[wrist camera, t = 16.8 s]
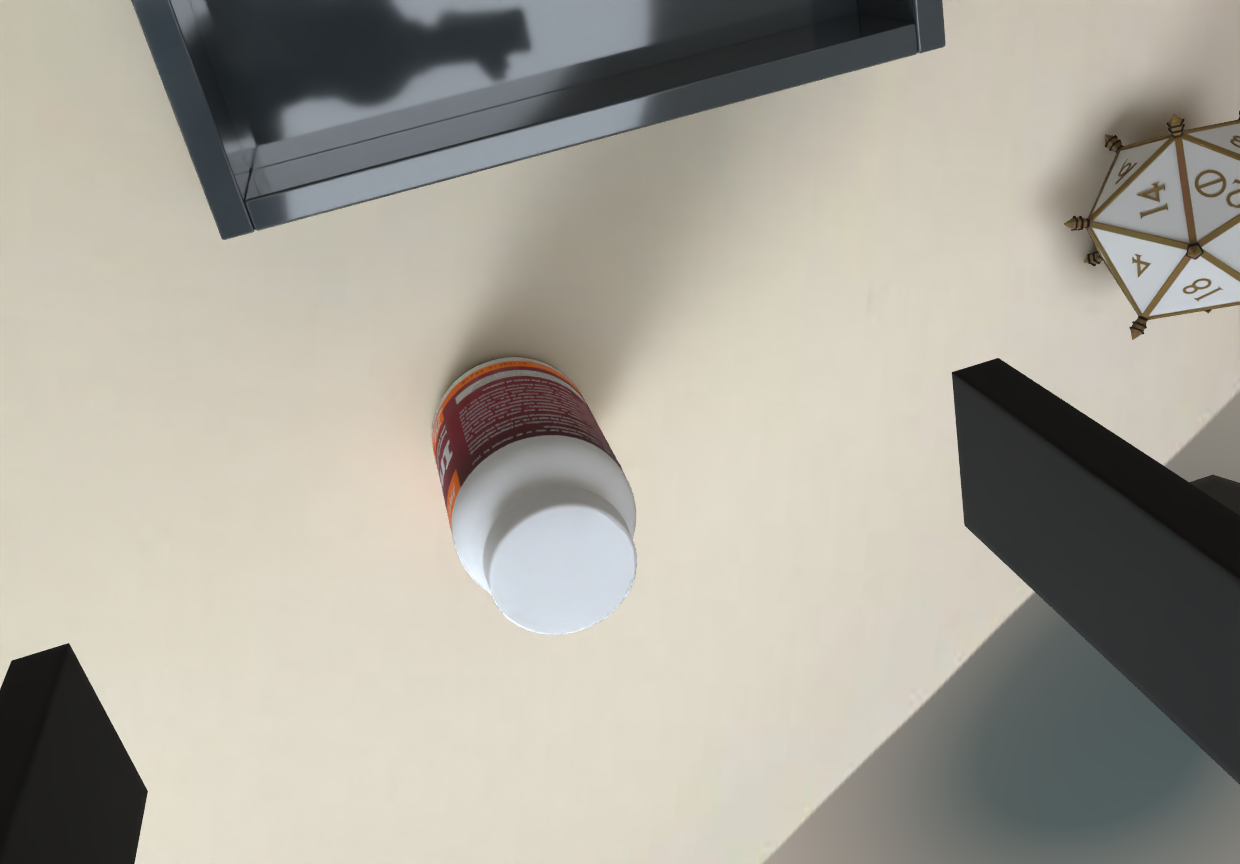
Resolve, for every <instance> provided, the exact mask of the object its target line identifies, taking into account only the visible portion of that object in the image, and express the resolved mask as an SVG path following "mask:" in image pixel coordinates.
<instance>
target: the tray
mask: <svg viewBox="0 0 1240 864" xmlns="http://www.w3.org/2000/svg"><path fill="white" fill-rule="evenodd" d="M131 1H132V4H133V6H134V9H135V12H136V14H137V17H138V19H139V22H140V25H141V27H142V30H143V33H144V35H145V38H146V41H147V43H148V46H149V48H150V51H151V54H152V56H153V59H154V62H155V64H156V67H157V69H158V72H159V75H160V77H161V80H162V83H163V85H164V88H165V91H166V93H167V96H168V98H169V101H170V104H171V106H172V109H173V112H174V114H175V117H176V120H177V122H178V125H179V127H180V130H181V133H182V135H183V138H184V141H185V143H186V146H187V148H188V151H189V154H190V156H191V159H192V162H193V164H194V167H195V170H196V172H197V175H198V177H199V180H200V183H201V185H202V188H203V191H204V193H205V196H206V198H207V201H208V204H209V206H210V209H211V212H212V214H213V217H214V220H215V222H216V225H217V227H218V230H219V233H220V235H221V238H222V239H223V240H226V239H230V238H234V237H237V236H241V235H245V234H249V233H252V232H254V230H256V231H259V230H263V229H266V228H270V227H274V226H278V225H281V224H285V223H289V222H292V221H296V220H300V219H304V218H307V217H311V216H315V215H319V214H322V213H326V212H330V211H334V210H337V209H341V208H345V207H348V206H352V205H356V204H360V203H363V202H367V201H371V200H375V199H378V198H382V197H386V196H390V195H393V194H397V193H401V192H404V191H408V190H412V189H416V188H419V187H423V186H427V185H431V184H434V183H438V182H442V181H446V180H449V179H453V178H457V177H460V176H464V175H468V174H472V173H475V172H479V171H483V170H487V169H490V168H494V167H498V166H502V165H505V164H509V163H513V162H516V161H520V160H524V159H528V158H531V157H535V156H539V155H543V154H546V153H550V152H554V151H558V150H561V149H565V148H569V147H572V146H576V145H580V144H584V143H587V142H591V141H595V140H599V139H602V138H606V137H610V136H613V135H617V134H621V133H625V132H628V131H632V130H636V129H640V128H643V127H647V126H651V125H655V124H658V123H662V122H666V121H669V120H673V119H677V118H681V117H684V116H688V115H692V114H696V113H699V112H703V111H707V110H711V109H714V108H718V107H722V106H725V105H729V104H733V103H737V102H740V101H744V100H748V99H752V98H755V97H759V96H763V95H767V94H770V93H774V92H778V91H781V90H785V89H789V88H793V87H796V86H800V85H804V84H808V83H811V82H815V81H819V80H823V79H826V78H830V77H834V76H837V75H841V74H845V73H849V72H852V71H856V70H860V69H864V68H867V67H871V66H875V65H879V64H882V63H886V62H890V61H893V60H897V59H901V58H905V57H908V56H912V55H915V54H917V53H923V52H927V51H931V50H935V49H938V48H942V47H944V46H945V31H944V18H943V5H942V0H131Z"/></svg>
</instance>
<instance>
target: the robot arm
mask: <svg viewBox="0 0 1240 864" xmlns="http://www.w3.org/2000/svg"><path fill="white" fill-rule="evenodd" d="M952 379H953V391H954V403H955V415H956V428H957V440H958V452H959V464H960V476H961V488H962V500H963V512H964V524H965V526H966V527H967V528H968V529H969V530H970V531H971V532H972V533H973V534H974V535H975V536H976V537H977V538H979V539H980V540H981V541H982V542H983V543H984V544H985V545H986V546H987V547H988V548H989V549H990V550H991V551H992V552H993V553H994V554H996V555H997V556H998V557H999V558H1000V559H1001V560H1002V561H1003V562H1004V563H1005V564H1006V565H1007V566H1008V567H1009V568H1010V569H1011V570H1013V571H1014V572H1015V573H1016V574H1017V575H1018V576H1019V577H1020V578H1021V579H1022V580H1023V581H1024V582H1025V583H1026V584H1027V585H1028V586H1029V587H1031V588H1032V589H1033V590H1034V591H1035V592H1036V593H1037V594H1038V595H1039V596H1040V597H1041V598H1042V599H1043V600H1044V601H1045V602H1046V603H1048V604H1049V605H1050V606H1051V607H1052V608H1053V609H1054V610H1055V611H1056V612H1057V613H1058V614H1059V615H1061V617H1062V618H1064V619H1065V620H1066V621H1067V622H1068V623H1069V624H1070V625H1071V626H1072V627H1073V628H1074V629H1075V630H1076V631H1077V632H1078V633H1079V634H1081V635H1082V636H1083V637H1084V638H1085V639H1086V640H1087V641H1088V642H1089V643H1090V644H1091V645H1092V646H1093V647H1094V648H1095V649H1096V650H1097V651H1098V652H1100V653H1101V654H1102V655H1103V656H1104V657H1105V658H1106V659H1107V660H1108V661H1109V662H1110V663H1111V664H1112V665H1113V666H1114V667H1115V668H1117V669H1118V670H1119V671H1120V672H1121V673H1122V674H1123V675H1124V676H1125V677H1126V678H1127V679H1128V680H1129V681H1130V682H1131V683H1133V684H1134V685H1135V686H1136V687H1137V688H1138V689H1139V690H1140V691H1141V692H1142V693H1143V694H1144V695H1145V696H1146V697H1147V698H1148V699H1149V700H1151V701H1152V702H1153V703H1154V704H1155V705H1156V706H1157V707H1158V708H1159V709H1160V710H1161V711H1162V712H1164V714H1165V715H1166V716H1168V717H1169V718H1170V719H1171V720H1172V721H1173V722H1174V723H1175V724H1176V725H1177V726H1178V727H1179V728H1180V729H1181V730H1182V731H1183V732H1184V733H1186V734H1187V735H1188V736H1189V737H1190V738H1191V739H1192V740H1193V741H1194V742H1195V743H1196V744H1197V745H1198V746H1199V747H1200V748H1201V749H1203V750H1204V751H1205V752H1206V753H1207V754H1208V755H1209V756H1210V757H1211V758H1212V759H1213V760H1214V761H1215V762H1216V763H1217V764H1218V765H1220V766H1221V767H1222V768H1223V769H1224V770H1225V771H1226V772H1227V773H1228V774H1229V775H1230V776H1231V777H1232V778H1233V779H1234V780H1236V781H1237V782H1238V783H1239V784H1240V483H1238V482H1235V481H1232V480H1228V479H1225V478H1221V477H1218V476H1215V475H1211V476H1208V477H1204V478H1201V479H1198V480H1195V481H1193V482H1187V481H1186V480H1184V479H1183V478H1181V477H1180V476H1178V475H1177V474H1175V473H1174V472H1172V471H1171V470H1169V469H1168V468H1166V467H1165V466H1163V465H1161V464H1160V463H1158V462H1157V461H1155V460H1154V459H1152V458H1151V457H1149V456H1148V455H1146V454H1145V453H1143V452H1142V451H1140V450H1138V449H1137V448H1135V447H1134V446H1132V445H1131V444H1129V443H1128V442H1126V441H1125V440H1123V439H1122V438H1120V437H1119V436H1117V435H1115V434H1114V433H1112V432H1111V431H1109V430H1108V429H1106V428H1105V427H1103V426H1102V425H1100V424H1099V423H1097V422H1096V421H1094V420H1092V419H1091V418H1089V417H1088V416H1086V415H1085V414H1083V413H1082V412H1080V411H1079V410H1077V409H1076V408H1074V407H1073V406H1071V405H1070V404H1068V403H1066V402H1065V401H1063V400H1062V399H1060V398H1059V397H1057V396H1056V395H1054V394H1053V393H1051V392H1050V391H1048V390H1047V389H1045V388H1043V387H1042V386H1040V385H1039V384H1037V383H1036V382H1034V381H1033V380H1031V379H1030V378H1028V377H1027V376H1025V375H1024V374H1022V373H1020V372H1019V371H1017V370H1016V369H1014V368H1013V367H1011V366H1010V365H1008V364H1007V363H1005V362H1004V361H1002V360H1001V359H999V358H997V359H994V360H990V361H987V362H984V363H981V364H977V365H974V366H971V367H968V368H964V369H961V370H958V371H954V372H952ZM147 792H148V791H147V789H146V787H145V785H144V783H143V781H142V779H141V778H140V776H139V774H138V772H137V770H136V768H135V766H134V764H133V763H132V761H131V759H130V757H129V755H128V753H127V751H126V749H125V748H124V746H123V744H122V742H121V740H120V738H119V736H118V734H117V732H116V731H115V729H114V727H113V725H112V723H111V721H110V719H109V717H108V716H107V714H106V712H105V710H104V708H103V706H102V704H101V702H100V701H99V699H98V697H97V695H96V693H95V691H94V689H93V687H92V685H91V684H90V682H89V680H88V678H87V676H86V674H85V672H84V670H83V669H82V667H81V665H80V663H79V661H78V659H77V657H76V655H75V654H74V652H73V650H72V648H71V646H70V644H69V643H68V644H65V645H61V646H58V647H55V648H52V649H48V650H45V651H42V652H38V653H35V654H32V655H29V656H25V657H22V658H19V659H16V660H12V661H11V664H10V666H9V669H8V671H7V674H6V676H5V679H4V681H3V684H2V686H1V689H0V864H134V863H135V857H136V852H137V846H138V841H139V836H140V830H141V825H142V819H143V814H144V809H145V803H146V798H147Z"/></svg>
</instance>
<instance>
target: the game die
mask: <svg viewBox="0 0 1240 864" xmlns="http://www.w3.org/2000/svg"><path fill="white" fill-rule="evenodd" d="M1239 116H1240V111H1239ZM1183 122H1184V119H1182V118H1180V117H1178V116H1177V115H1175V114H1173V116H1172V118H1171V119H1170V121H1169V122H1167V125H1168V126H1169V128H1168V130H1169V131H1170V132H1171V134H1167V135H1164V136H1160V137H1156V138H1153V139H1149V140H1145V141H1142V142H1138V143H1134V144H1131V145H1127V146H1122V145H1121V140H1120V139H1119V140H1118V138H1117V136H1116V135H1115V136H1111V135H1105V141H1106V145H1105V147H1108V148H1110V149H1109V150H1110V151H1111V150H1113V151H1115V152H1116V156H1115V158H1114V160H1113V162H1112V165H1111V167H1110V169H1109V171H1108V174H1107V176H1106V178H1105V180H1104V183H1103V185H1102V187H1101V189H1100V192H1099V194H1098V196H1097V198H1096V201H1095V203H1094V205H1093V207H1092V210H1091V212H1090V214H1089V216H1088V218H1087V219H1085V218H1082V216H1079V217H1076V216H1073V218H1072V219H1070V220H1069V221H1067V222H1066V223H1065V224H1064V225H1066V226H1067V227H1069V228H1071V231H1072V230H1082V229H1083V228H1087V230H1088V232H1089V234H1090V236H1091V238H1092V240H1093V242H1094V244H1095V246H1096V248H1097V250H1098V252H1094V253H1091V254H1088V255H1087V256H1088V257H1087V259H1086V260H1085V263H1088V264H1091V265H1093V266H1095V265H1096V264H1097V263H1098V264H1100V262H1101V261H1102V260H1103V261H1104V263H1105V264H1106V266H1107V268H1108V269H1109V271H1110V272H1111V274H1112V275H1113V277H1114V278H1115V280H1116V282H1117V283H1118V285H1119V286H1120V288H1121V289H1122V291H1123V293H1124V294H1125V296H1126V297H1127V299H1128V300H1129V302H1130V303H1131V305H1132V307H1133V308H1134V310H1135V311H1136V313H1137V314H1138V319H1137V320H1136V321H1135V322H1132V323H1133V325H1132V327H1130V329H1131V335H1132V340H1133V339H1135V338H1136V337H1138V336H1139V335H1141V334H1144V332H1143V331H1144V329H1145V328H1147V327H1146V322H1147V321H1148V320H1150V319H1156V318H1162V317H1169V316H1175V315H1181V314H1187V313H1193V312H1199V311H1205V312H1207V313H1209V312H1210V311H1211V310H1212V309H1217V308H1223V307H1229V306H1235V305H1240V117H1239V119H1238V120H1234V121H1229V122H1224V123H1219V124H1214V125H1209V126H1204V127H1199V128H1194V129H1189V130H1184V131H1183V128H1184V126H1185V124H1183Z"/></svg>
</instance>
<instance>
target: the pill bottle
mask: <svg viewBox="0 0 1240 864" xmlns="http://www.w3.org/2000/svg"><path fill="white" fill-rule="evenodd" d="M432 444H433V451H434V456H435V461H436V465H437V469H438V473H439V477H440V482H441V486H442V491H443V495H444V500H445V504H446V509H447V513H448V518H449V523H450V528H451V532H452V537H453V542H454V545H455V548H456V552H457V555H458V557H459V559H460V561H461V563H462V565H463V567H464V568H465V570H466V571H467V573H468V574H469V575H470V576H471V578H472V579H473V580H474V581H475V582H476V583H477V584H478V585H480V586H481V587H482V588H484V589H485V590H486V591H487V592H489V593H491V595H492V597H493V599H494V601H495V603H496V605H497V607H498V608H499V609H500V611H501V612H502V613H503V614H504V615H505V616H506V617H507V618H508V619H509V620H510V621H512V622H513V623H515V624H516V625H518V626H520V627H522V628H524V629H526V630H529V631H532V632H536V633H541V634H550V635H558V634H569V633H573V632H577V631H580V630H583V629H586V628H588V627H591V626H593V625H595V624H597V623H598V622H600V621H601V620H603V619H604V618H606V617H607V616H608V615H610V614H611V613H612V612H613V611H614V610H615V609H616V608H617V607H618V606H619V605H620V604H621V603H622V601H623V600H624V599H625V597H626V595H627V594H628V592H629V591H630V589H631V586H632V584H633V581H634V578H635V574H636V567H637V555H636V549H635V545H634V542H633V536H634V531H635V526H636V506H635V501H634V496H633V493H632V490H631V487H630V485H629V483H628V480H627V478H626V476H625V474H624V472H623V470H622V468H621V466H620V464H619V463H618V461H617V459H616V457H615V455H614V454H613V452H612V450H611V448H610V446H609V444H608V442H607V440H606V439H605V437H604V435H603V433H602V431H601V429H600V428H599V426H598V424H597V422H596V420H595V418H594V416H593V414H592V413H591V411H590V409H589V407H588V405H587V403H586V401H585V400H584V398H583V396H582V395H581V393H580V392H579V390H578V389H577V387H576V386H575V385H574V384H573V383H572V382H571V381H570V380H569V379H568V378H567V377H566V376H565V375H564V374H562V373H561V372H560V371H558V370H557V369H555V368H554V367H552V366H550V365H548V364H546V363H543V362H540V361H537V360H533V359H528V358H520V357H507V358H500V359H495V360H492V361H489V362H486V363H483V364H480V365H478V366H476V367H474V368H472V369H471V370H469V371H468V372H466V373H465V374H463V375H462V376H461V377H459V378H458V379H457V380H456V381H455V382H454V383H453V384H452V385H451V386H450V388H449V389H448V390H447V392H446V393H445V394H444V396H443V397H442V399H441V401H440V403H439V405H438V407H437V410H436V413H435V416H434V420H433V425H432Z"/></svg>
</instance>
